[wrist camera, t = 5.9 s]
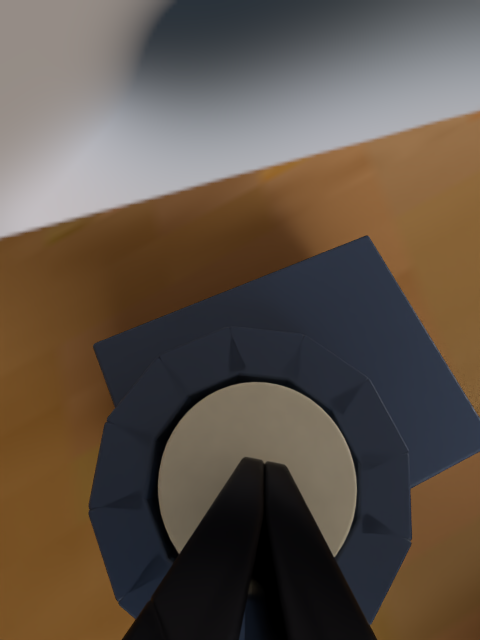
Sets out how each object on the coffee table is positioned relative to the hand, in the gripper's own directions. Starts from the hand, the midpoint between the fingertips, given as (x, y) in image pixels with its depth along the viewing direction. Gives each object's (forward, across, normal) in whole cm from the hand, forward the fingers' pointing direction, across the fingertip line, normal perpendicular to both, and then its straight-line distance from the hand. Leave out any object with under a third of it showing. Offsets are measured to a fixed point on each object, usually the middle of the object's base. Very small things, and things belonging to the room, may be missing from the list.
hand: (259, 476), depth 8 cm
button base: (+7, -1, +3) cm, 7 cm away
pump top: (+2, 0, +2) cm, 3 cm away
